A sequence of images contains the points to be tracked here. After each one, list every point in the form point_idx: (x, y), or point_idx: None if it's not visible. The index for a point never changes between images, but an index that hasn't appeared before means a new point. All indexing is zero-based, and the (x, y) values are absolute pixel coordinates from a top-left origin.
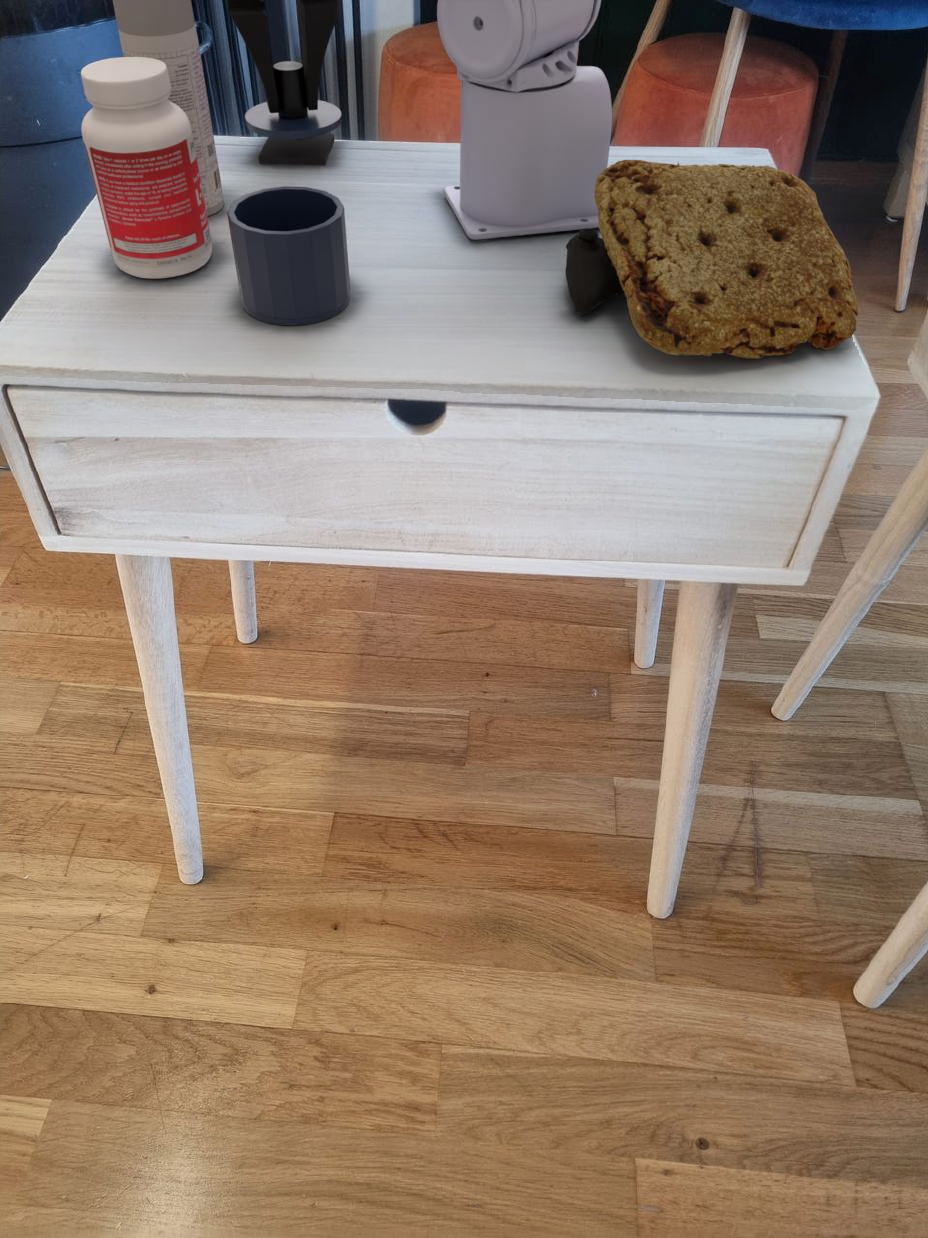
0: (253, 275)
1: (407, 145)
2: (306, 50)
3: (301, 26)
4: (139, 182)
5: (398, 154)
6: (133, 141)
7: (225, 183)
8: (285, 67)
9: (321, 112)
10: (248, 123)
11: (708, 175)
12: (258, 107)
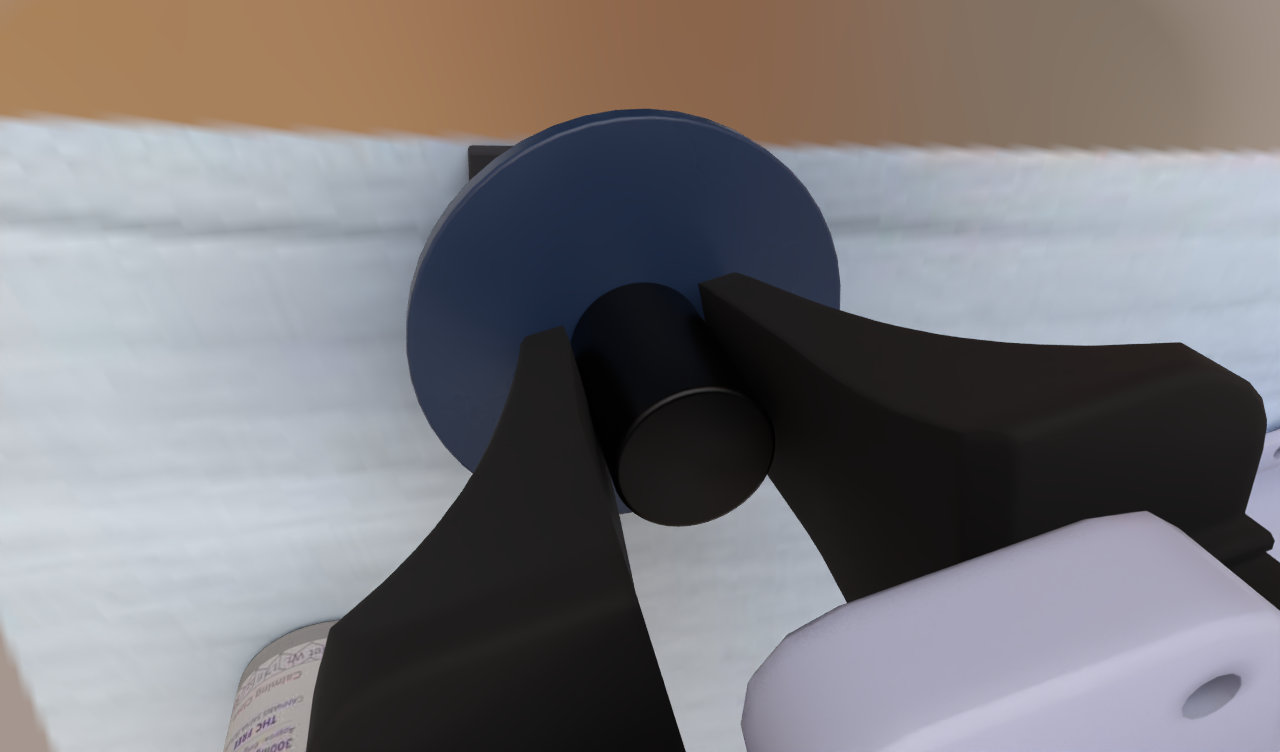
0: None
1: (1006, 176)
2: (842, 582)
3: (874, 526)
4: None
5: (958, 263)
6: None
7: (401, 551)
8: (685, 493)
9: None
10: (454, 455)
11: None
12: (454, 279)
